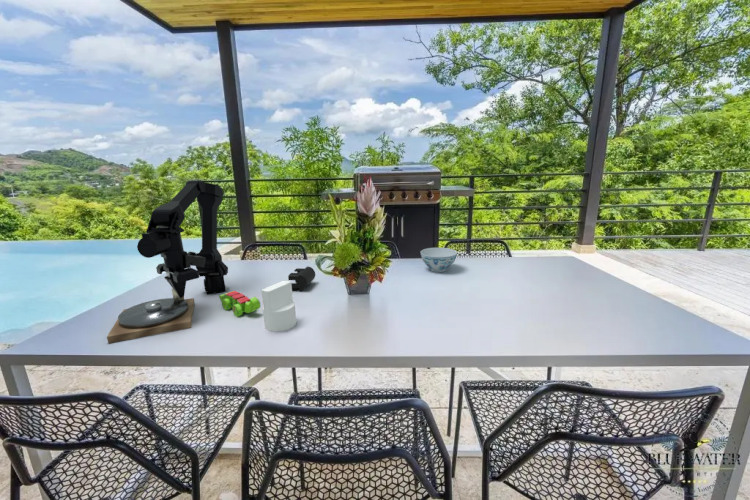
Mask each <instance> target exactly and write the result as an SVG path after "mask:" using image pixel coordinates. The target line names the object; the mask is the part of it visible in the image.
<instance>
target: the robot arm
mask: <svg viewBox="0 0 750 500" xmlns="http://www.w3.org/2000/svg"><path fill="white" fill-rule="evenodd" d="M223 195H224V191H223V188H222V187H221V186H220V185H219V184H217V183H215V184H213V183H209V182H205V181H203V180H200V179H199V180H198V179H197V180H196V179H194V180H192V179H191V180H188V181H186V183H185V185H184V186H183V187H182V189H181V190H180V191H179V192H177V194H176V195H175V196H174V197H173V198H172V199H171V200H170V201H169V202H166V203H164V204H161V205H159V206H157V207H156V208H155V209H153V211H152V212H151V214H150V215H151V217H150V219H149V222H148V225H147V228H146V231H145V232H143V233H141V236H142V237H141V238H140V239H139V240H138V242H137V245H136V248H137V252H138V253H139V254H140V255H141V256H142V257H144V258H148V259H149V258H153V257H157V256H159V255H160V257H161V258H163V263H158V265H156V267H155V269H156V273H157V274H158V275H162V274H163V272H164V273H166V276H164V279H165V280H166V281H167V283H168V284H169V285H170V286H171V289H174V290H175V292H176V293H177V294H178V296H179V297H180V298H182V297H184V298H185V293H186V285H187V282H189V281H192V280H196V279H199V278H200V277H204V278H203V286H204V291H205V292H206V295H210V294H211V295H212V294H217V293H223V292H227V288H226V283H225V277H224V276H227V274H228V273H229V267H228V265H226V264H225V262H223V259H222V258H223V257H222V254H221V252H220V251H219V250H218V208H219V207H220V205H221V204H222V202H223ZM195 200H197V203H198V204H199V206H200V207H201V249H200V250H199V252H197V253H196V252H195V251H186V250H184V244H183V240H182V239H183V238H182V233H183V232H185V229H184V228H183V227H180V226H181V225H182V223H183V222H184V220H185V218H186V215H185V213H186V211H187V210H188V209H189V207H190V206H191V205H192V203H193V202H194V201H195ZM193 266H194V267H195V268H196V269H195V268H193Z"/></svg>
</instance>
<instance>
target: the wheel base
mask: <svg viewBox="0 0 750 500" xmlns="http://www.w3.org/2000/svg"><path fill="white" fill-rule="evenodd" d="M184 300H185V301H187V303H188V310H187V312H186V313H184V314H183V315H182V316H180V317H178V318H176V319H174V320H171V321H169V322H166V323H163V324H159V325H155V326H150V327H143V328H126V327H123V326H121V325H120V324H119V321H118V318H117V319H116V321H115V323H114V324H113V326H112V327H111V329H110V331H109V332H108V334H107V336H106V339H107V344H109V345H110V344H114V343H119V342H124V341H129V340H133V339H135V340H136V339H139V338H144V337H146V338H147V337H150V336H156V335H161V334H166V333H171V332H176V331H181V330H186V329H190V328H192V325H193V318H194V310H195V299H194V297H191V298H184ZM126 309H127V308H124V309H122V311H121V313H122V312H123V311H125V310H126Z"/></svg>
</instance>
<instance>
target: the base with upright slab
mask: <svg viewBox="0 0 750 500" xmlns="http://www.w3.org/2000/svg"><path fill="white" fill-rule="evenodd" d="M291 283H292V281H291V280H282V281H280V282H277V283H275V284H272V285H270V286H267V287H264V288H262V289H261V290H260V291H261V299H262V315H263V323H264V329H265V330H266V331H268V332H275V333H278V332H284V331H288V330H291V329H292V328H294V327H296V325H297V315H296V303H295V302H294V297H293V291H292V285H291Z"/></svg>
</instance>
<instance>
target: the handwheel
mask: <svg viewBox="0 0 750 500" xmlns="http://www.w3.org/2000/svg"><path fill="white" fill-rule="evenodd" d="M171 294H172V298H171V297H170V298H160V299H154V300H149V301H145V302H141V303H139V304H136V305H132V306H130V307H128V308H125V309H126V310H125V311H123V310H122V311H123V312H122V311H121V313H119V315H118V317H117V319H118V321H119V324H120V325H121V326H123V327H126V328H143V327H150V326H155V325H159V324H163V323H166V322H169V321H171V320H174V319H176V318H178V317H180V316H182V315H183V314H184V313H186V312H187V310H188V303H187V301H185V300H184V299H185V296H184V297H182V298H180V297H179V296H178V294H177V293H176V292H175V290H174V289H173V288H171Z"/></svg>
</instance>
